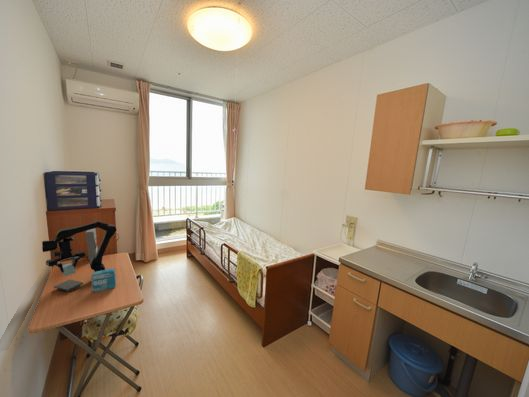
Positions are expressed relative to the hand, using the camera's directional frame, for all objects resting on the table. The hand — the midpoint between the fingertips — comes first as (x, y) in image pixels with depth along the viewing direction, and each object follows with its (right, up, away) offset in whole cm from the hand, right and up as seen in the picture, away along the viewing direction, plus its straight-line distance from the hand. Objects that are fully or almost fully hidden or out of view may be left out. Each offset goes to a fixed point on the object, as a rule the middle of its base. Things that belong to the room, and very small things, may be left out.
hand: (68, 270), depth 143 cm
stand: (+1, -11, 0) cm, 11 cm away
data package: (+25, -12, -1) cm, 28 cm away
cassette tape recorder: (-21, -4, +48) cm, 53 cm away
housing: (0, -1, 0) cm, 1 cm away
